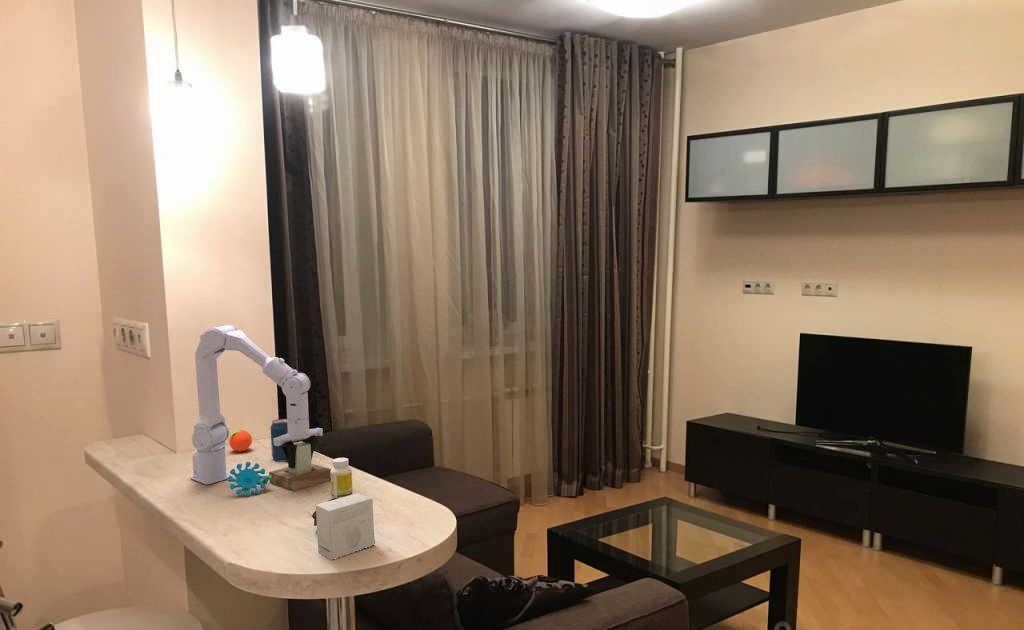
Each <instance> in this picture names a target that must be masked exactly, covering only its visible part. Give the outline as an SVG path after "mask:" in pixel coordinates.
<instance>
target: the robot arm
mask: <svg viewBox="0 0 1024 630" xmlns="http://www.w3.org/2000/svg"><path fill="white" fill-rule="evenodd" d="M225 351H238V352H240V353H241V354H243V355H244V356H245V357H247V358H249V360H251V361H253V362H255V363H256V364H257V365H258V366H260V367H261V369H262V373H263V374H264V375H265V376H266V377H268V378H269V379H270V380H271V381H273V382H274V383H276V385H278V386H279V387H281V391H282V393H283V394H284V396H285V397H286V398H285V399H286V419H287V425H288V433H287V434H285V435H282V436H279V437H276V438H273V439H274V445H275V446H280V448H281V449H282V451H283V452H284V454H285V457H286V459H287V460H286V461H287V467H288V466H289V468H292V469H294V468H295V464H296V462H295V455H296V448H297V445H294V443H292V442H294V441H295V442H297V441H298V442H299V441H300V442H305V443H309V444H311V461H312V458H313V455H314V452H315V449H316V447H317V445H318V443H319V438H318V436H319V437H322V436H324V434H323V433H324V432H323V428H320V427H316V428H310V416H309V398H308V397H309V393H308V391H309V390H310V388H311V380H310V378H309V376H307V374H306V373H303V372H298V370H297V369H294V368H292V367H290V366H289V365H288V364H287V363H286V362H285V359H283V358H282V357H280V358H279V357H278V356H277V357H276V356H275V357H274V356H273V357H271V356H269V355H268V353H266V352H265V351H264V350H263V349H261V348H260V347H259V346H258V345H256V343H254V342H253V341H252V340H251V339H250V338H249V337H248V336H246V334H245V332H244V331H242V330H240V329H238V327H237V326H235V325H234V324H226V325H223V326H218V327H210V328H207V329H206V330H205V331H204V332H203V333H202V334H201V335H199V343H198V345H197V348H196V351H195V353H194V357H195V358H194V359H195V373H196V389H197V399H198V400H197V401H198V402H197V403H198V404H197V405H198V418H197V419H196V421H195V422H194V424H193V428H194V429H193V433H192V435H191V443H192V446H193V447H194V448H195V450H194V452H193V454H192V469H193V470H192V471H193V473H192V476H190V480H194V481H196V482H198V483H201V484H204V485H210V484H213V483H219V482H221V481H225V480H228V477H229V476H232V477H233V478H234V475H232V474H230V473H227V462H226V460H227V458H226V457H227V456H226V441H227V440H228V439H229V437H230V429H229V427H228V426H227V423H226V417H225V416H224V415H223V414H222V413H221V406H220V404H221V403H220V393H219V392H220V391H219V377H218V363H217V362H218V361H217V360H218V358H219V357H220V356H221V355H222V354H224V352H225Z"/></svg>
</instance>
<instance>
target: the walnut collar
mask: <svg viewBox="0 0 1024 630" xmlns="http://www.w3.org/2000/svg"><path fill="white" fill-rule="evenodd" d="M311 467H312V471H311V472H308V473H304V474H301V475H293V474H290V473H288V466H286V467H282V468H278V469H274V470H271V471H269V472H268V475H272V478H271V480H268V483H270V484H273V485H276V486H279V487H282V488H284V489H287V490H290V491H293V492H296V491H298V490H302V489H305V487H306V488H308V486H309V487H311V485H312V486H315V485H318V484H317V483H319V484H321V483H320V482H322V483H324V482H323V481H325V482H327V481H326V480H328V481H331V480H330V479H331V475H330V471H331V469H332V468H328V467H325V466H322V465H318V464H316V463H315V464H314V463H312V462H311ZM314 484H315V485H314Z"/></svg>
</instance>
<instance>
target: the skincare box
mask: <svg viewBox="0 0 1024 630" xmlns="http://www.w3.org/2000/svg"><path fill="white" fill-rule="evenodd" d="M330 500H331V499H330ZM327 501H328V502H327ZM327 501H325V502H321V503H317V504H315V511H316V519H317V526H316V532H317V549H318V551H317V552H318V553H319V552H320V554H321V555H323V556H324V557H326V558H328V559H329V558H330V560H331V559H332V560H331V561H334V560H333V559H335V558H337V559H339V558H338V557H340V558H342V557H341V556H343V557H345V556H344V555H346V556H348V555H347V554H349V555H351V554H350V553H352V554H354V553H356V552H355V551H357V552H359V551H358V550H360V549H363V548H366V547H369V546H372V545H374V544H375V545H376V539H375V523H374V522H375V521H374V507H373V504H374V503H373V498H372V497H370V496H368V495H364V494H363V493H359V492H357V493H352V495H349V496H346V497H342V498H339V499H335V500H331V501H329V500H327ZM375 545H374V546H375ZM372 547H373V546H372ZM369 548H370V547H369ZM366 549H367V548H366ZM363 550H364V549H363ZM360 551H361V550H360ZM353 552H354V553H353ZM335 560H336V559H335Z"/></svg>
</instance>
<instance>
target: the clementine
mask: <svg viewBox="0 0 1024 630" xmlns="http://www.w3.org/2000/svg"><path fill="white" fill-rule="evenodd" d="M227 440H228V443H229V446H230V448H231V449H232V450H234V452H237V453H238V452H240V453H241V452H244V451H246V450H249V448H250V447H251V445H252V443H253V442H252V441H253V439H252V435H251V433H249V431H247V430H246V429H239V430H236V431H233V432H231V433H230V434H229V437H228V439H227Z"/></svg>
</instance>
